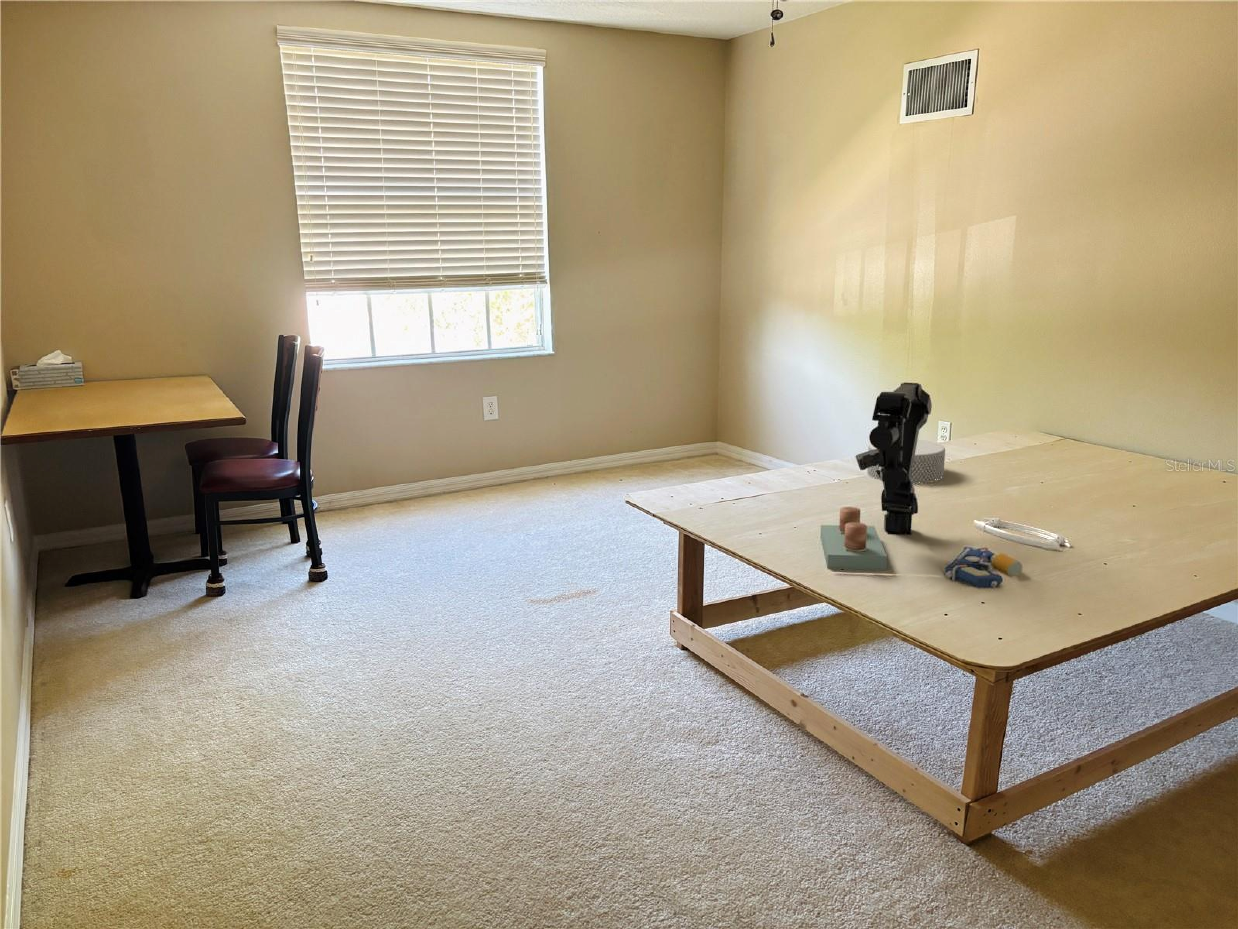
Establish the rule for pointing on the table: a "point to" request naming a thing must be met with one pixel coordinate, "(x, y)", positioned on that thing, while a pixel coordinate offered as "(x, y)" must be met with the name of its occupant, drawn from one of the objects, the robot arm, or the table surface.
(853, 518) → the seated peg
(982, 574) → the spray gun
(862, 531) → the peg
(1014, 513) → the table surface
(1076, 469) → the table surface
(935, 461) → the knob
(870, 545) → the board
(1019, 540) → the door handle
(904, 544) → the table surface
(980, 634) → the table surface
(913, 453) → the robot arm
